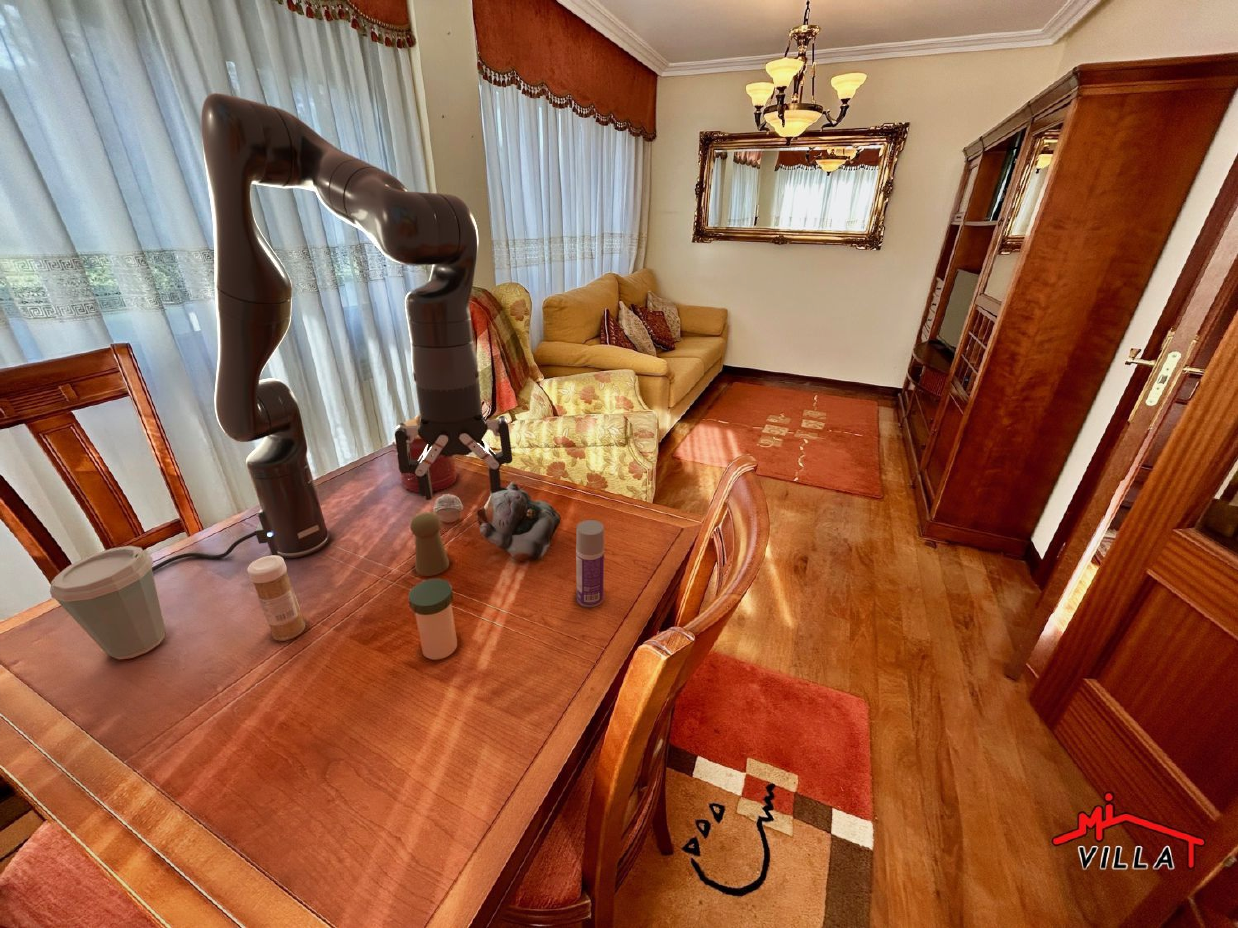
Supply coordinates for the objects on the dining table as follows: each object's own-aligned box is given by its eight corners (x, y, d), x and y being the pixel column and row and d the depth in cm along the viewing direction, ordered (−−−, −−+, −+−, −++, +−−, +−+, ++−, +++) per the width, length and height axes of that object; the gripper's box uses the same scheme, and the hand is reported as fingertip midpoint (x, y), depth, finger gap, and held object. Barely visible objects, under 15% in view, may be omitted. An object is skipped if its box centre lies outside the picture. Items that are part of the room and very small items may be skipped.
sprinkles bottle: (306, 617, 82) (284, 550, 76) (304, 636, 78) (281, 568, 72) (274, 626, 80) (248, 558, 74) (270, 646, 76) (243, 576, 70)
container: (607, 594, 89) (609, 523, 83) (595, 610, 85) (596, 538, 79) (584, 586, 91) (584, 516, 84) (571, 602, 87) (570, 530, 81)
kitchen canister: (391, 490, 120) (377, 422, 112) (419, 466, 131) (409, 403, 123) (442, 496, 118) (432, 427, 110) (466, 471, 129) (458, 407, 121)
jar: (421, 662, 75) (410, 609, 70) (423, 637, 79) (413, 585, 74) (457, 655, 76) (449, 603, 71) (457, 631, 80) (449, 580, 76)
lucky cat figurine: (537, 570, 94) (495, 518, 88) (494, 570, 101) (452, 522, 95) (571, 514, 104) (536, 464, 98) (531, 518, 111) (495, 471, 105)
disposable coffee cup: (79, 681, 70) (25, 598, 63) (106, 629, 78) (61, 552, 72) (175, 655, 74) (134, 575, 68) (190, 609, 83) (156, 534, 76)
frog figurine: (434, 531, 105) (429, 503, 102) (436, 514, 111) (432, 486, 108) (464, 528, 106) (460, 500, 103) (465, 511, 112) (461, 484, 109)
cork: (438, 578, 92) (430, 528, 87) (409, 572, 93) (399, 523, 88) (455, 558, 97) (448, 510, 92) (426, 553, 98) (418, 505, 93)
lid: (408, 618, 70) (406, 609, 69) (412, 590, 75) (410, 581, 74) (452, 611, 72) (451, 602, 71) (453, 584, 77) (451, 575, 76)
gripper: (504, 367, 66) (512, 475, 73) (387, 372, 62) (408, 486, 70) (509, 384, 60) (517, 501, 67) (379, 391, 56) (403, 514, 63)
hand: (461, 493), depth 68 cm, fingers open, 8 cm apart
